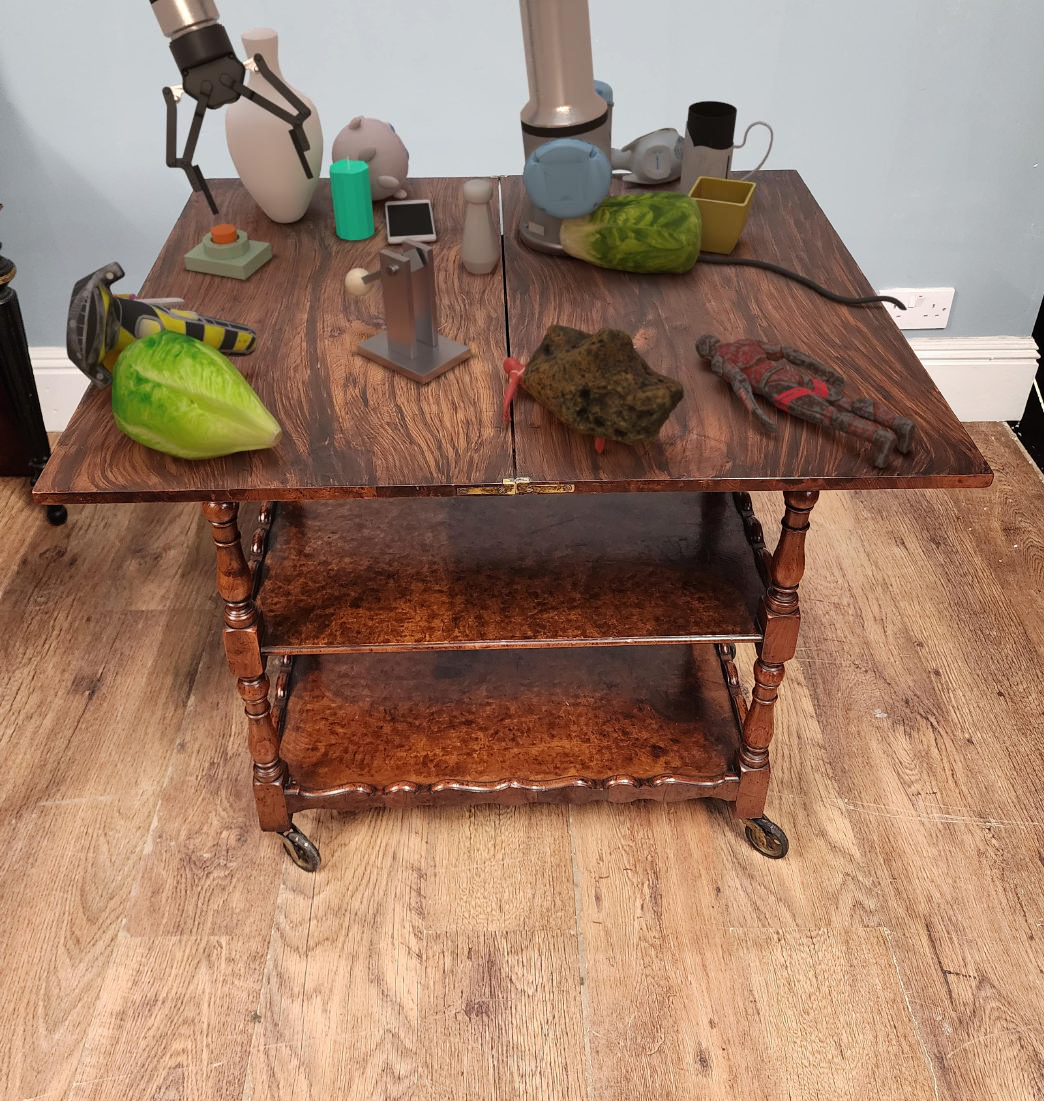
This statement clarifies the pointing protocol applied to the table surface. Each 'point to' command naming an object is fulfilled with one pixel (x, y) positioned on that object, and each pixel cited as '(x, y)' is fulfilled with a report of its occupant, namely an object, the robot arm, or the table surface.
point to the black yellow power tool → (135, 325)
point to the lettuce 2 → (638, 233)
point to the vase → (272, 139)
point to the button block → (228, 256)
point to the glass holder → (711, 143)
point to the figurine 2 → (803, 392)
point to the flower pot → (722, 211)
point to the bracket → (411, 320)
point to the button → (224, 234)
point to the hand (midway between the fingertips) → (263, 196)
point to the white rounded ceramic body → (651, 157)
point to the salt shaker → (479, 228)
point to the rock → (600, 384)
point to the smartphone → (410, 221)
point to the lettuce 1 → (187, 399)
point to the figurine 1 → (515, 377)
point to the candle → (352, 199)
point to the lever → (375, 275)
